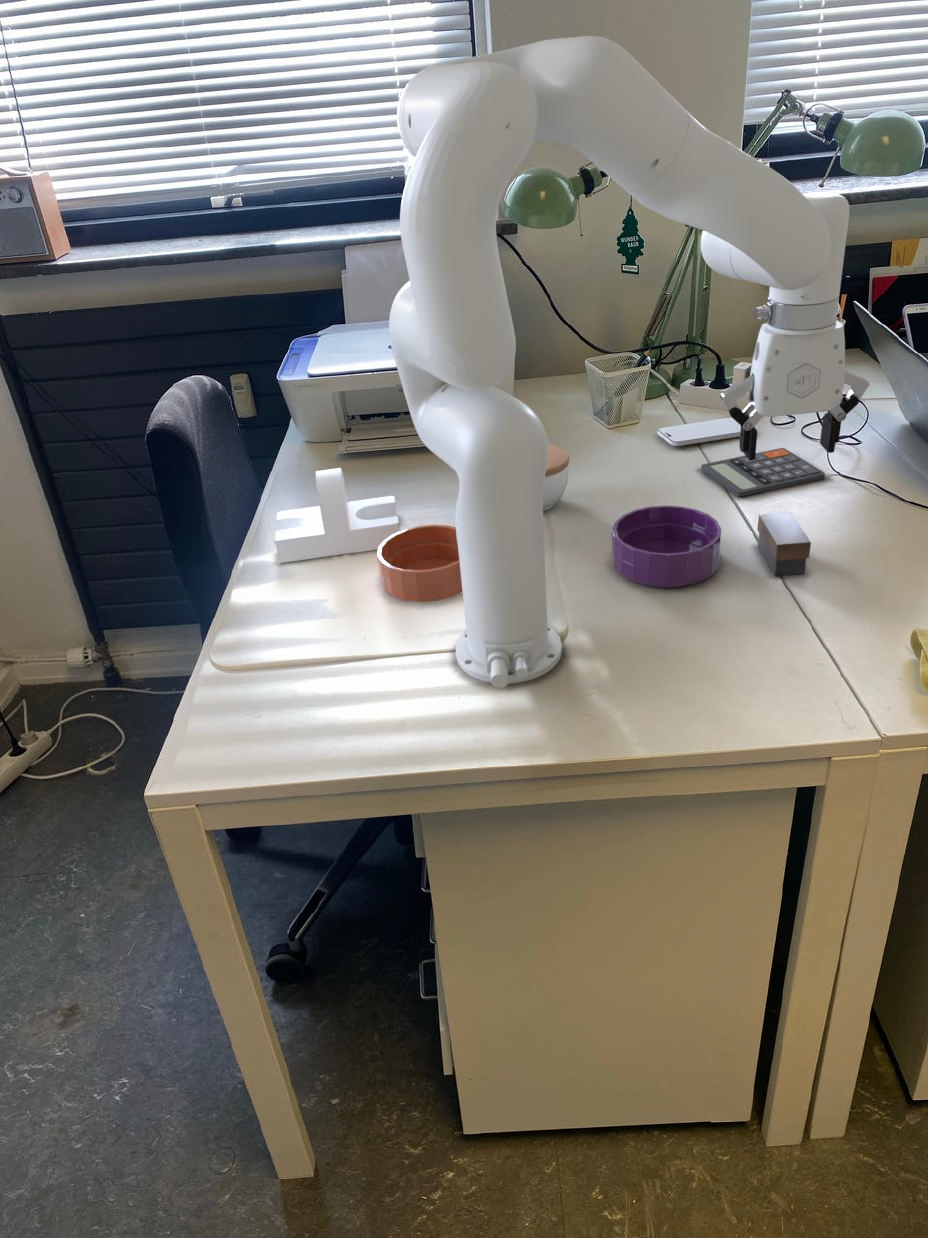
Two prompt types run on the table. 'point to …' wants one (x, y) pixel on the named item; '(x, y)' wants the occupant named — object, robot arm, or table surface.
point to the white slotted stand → (334, 523)
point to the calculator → (762, 472)
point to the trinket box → (555, 476)
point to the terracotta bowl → (421, 563)
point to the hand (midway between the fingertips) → (787, 452)
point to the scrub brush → (783, 543)
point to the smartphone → (700, 431)
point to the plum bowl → (666, 546)
